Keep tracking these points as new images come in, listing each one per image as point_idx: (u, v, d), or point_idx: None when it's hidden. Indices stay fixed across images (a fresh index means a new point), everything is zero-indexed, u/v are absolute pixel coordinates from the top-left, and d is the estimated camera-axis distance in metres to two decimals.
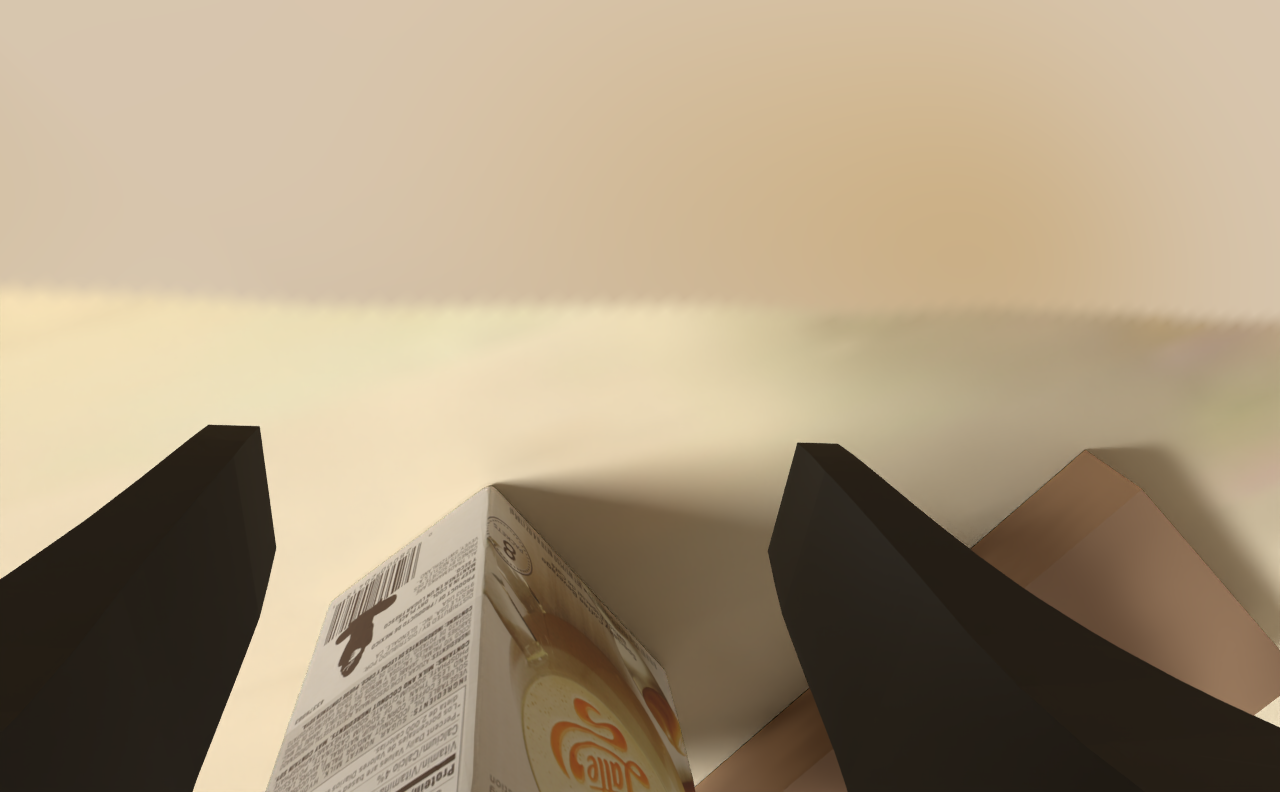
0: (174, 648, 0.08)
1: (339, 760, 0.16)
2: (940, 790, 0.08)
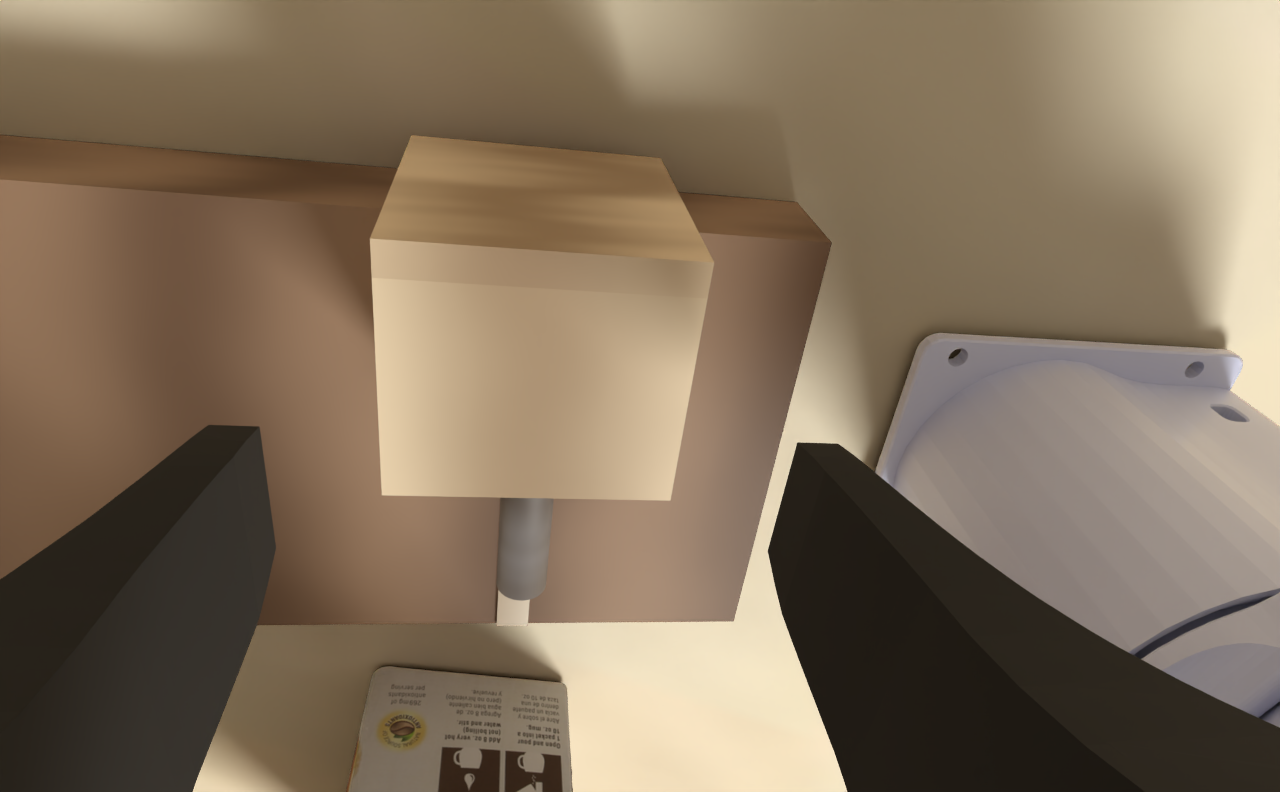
0: (174, 648, 0.08)
1: None
2: (940, 789, 0.08)
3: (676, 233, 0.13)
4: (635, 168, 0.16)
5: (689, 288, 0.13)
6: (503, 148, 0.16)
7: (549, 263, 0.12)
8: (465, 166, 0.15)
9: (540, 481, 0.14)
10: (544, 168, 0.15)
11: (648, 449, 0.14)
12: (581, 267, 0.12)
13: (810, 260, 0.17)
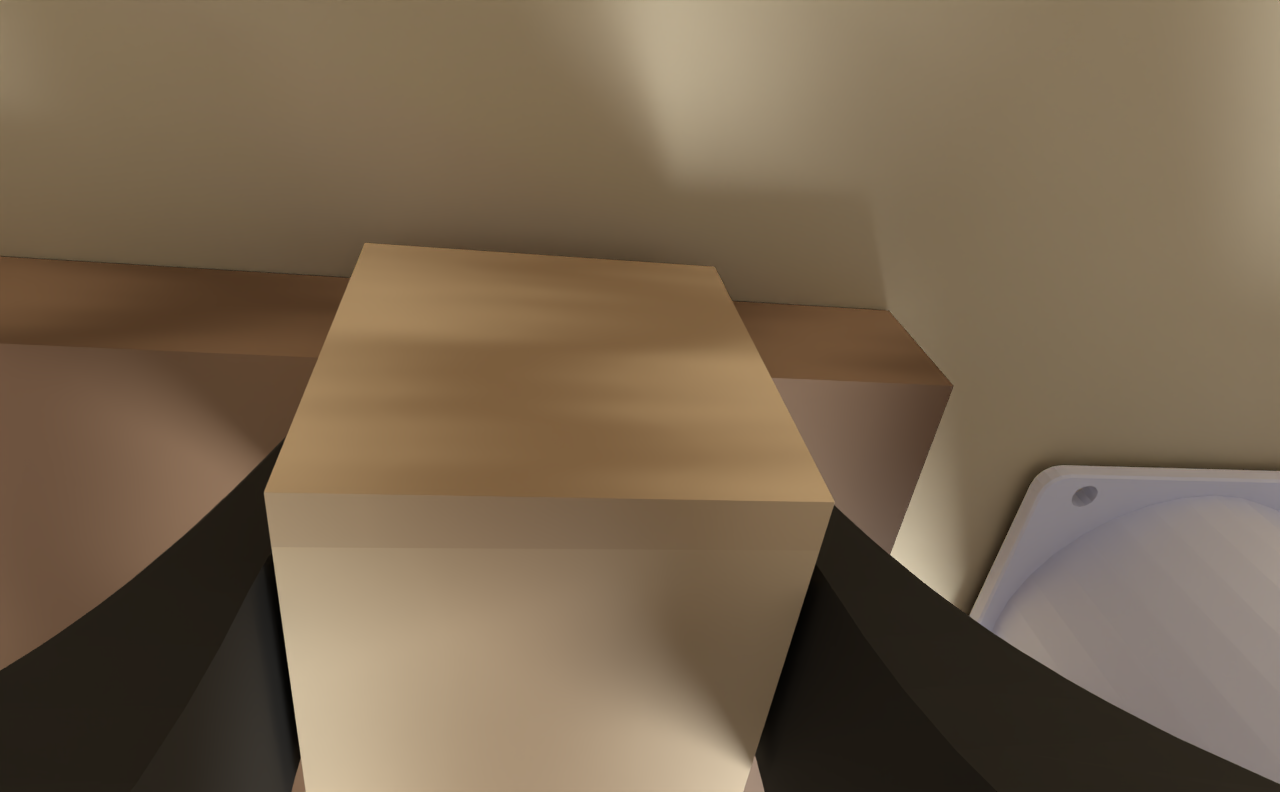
0: (283, 646, 0.08)
1: None
2: None
3: (763, 431, 0.09)
4: (683, 290, 0.11)
5: (792, 538, 0.08)
6: (495, 260, 0.11)
7: (568, 513, 0.07)
8: (438, 303, 0.10)
9: (550, 787, 0.09)
10: (553, 300, 0.11)
11: (713, 740, 0.09)
12: (620, 517, 0.07)
13: (922, 408, 0.12)
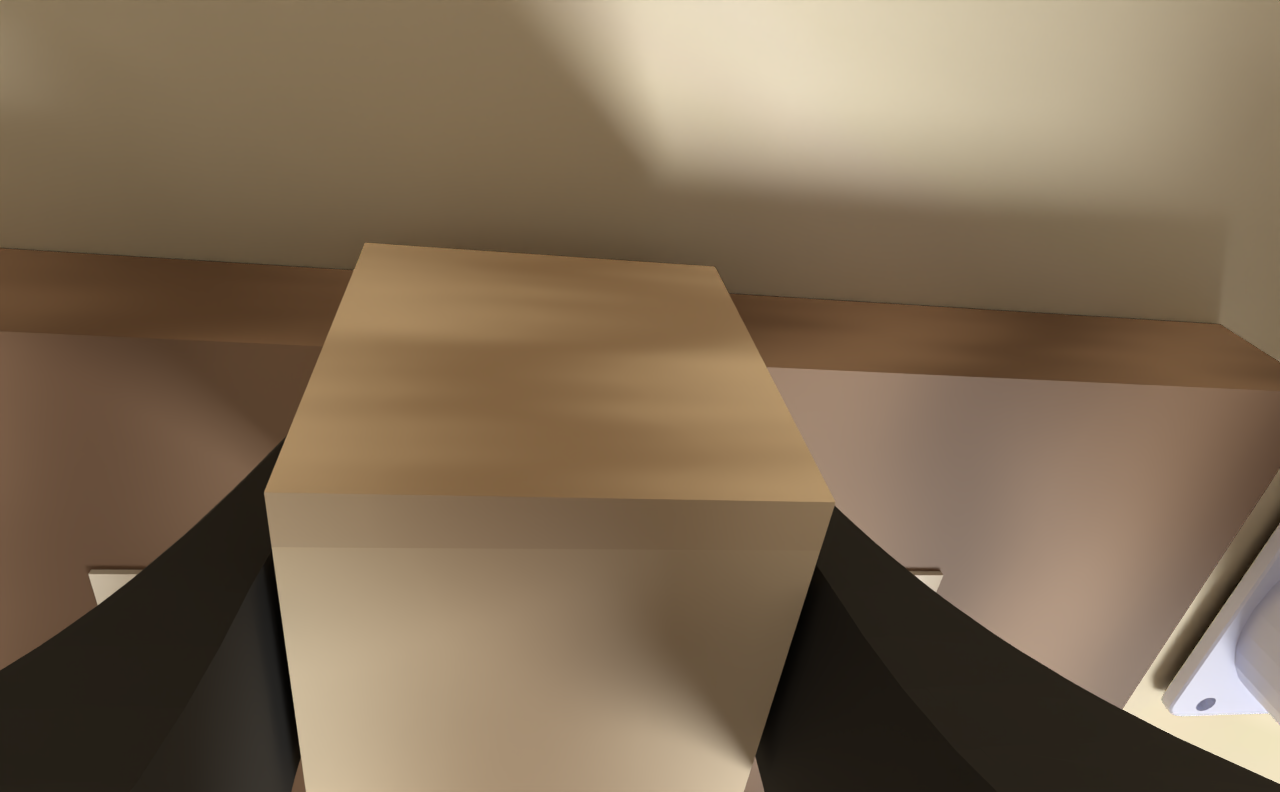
0: (283, 647, 0.08)
1: None
2: None
3: (763, 430, 0.09)
4: (683, 290, 0.11)
5: (793, 538, 0.08)
6: (496, 260, 0.11)
7: (568, 514, 0.07)
8: (439, 304, 0.10)
9: (550, 787, 0.09)
10: (554, 300, 0.11)
11: (714, 741, 0.09)
12: (621, 517, 0.07)
13: None
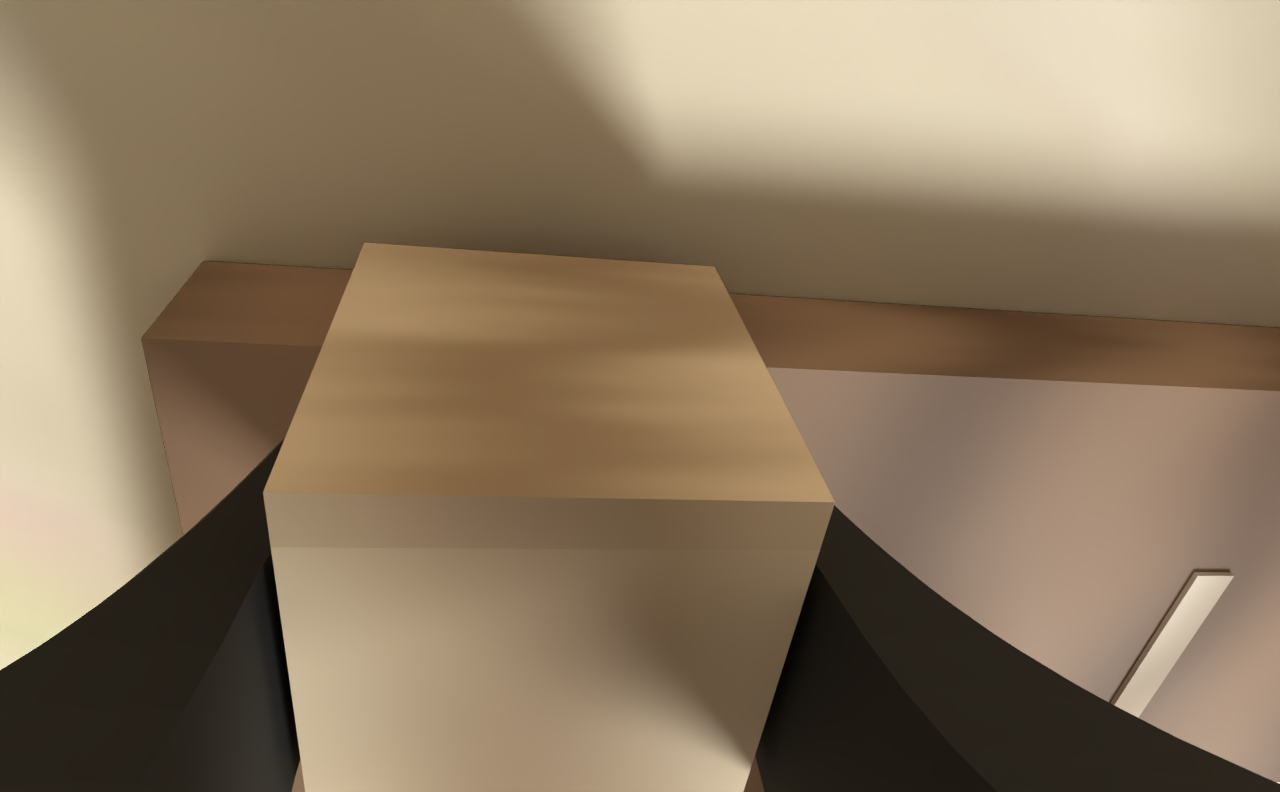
0: (283, 646, 0.08)
1: None
2: None
3: (763, 430, 0.09)
4: (683, 289, 0.11)
5: (792, 538, 0.08)
6: (495, 261, 0.11)
7: (568, 514, 0.07)
8: (438, 304, 0.10)
9: (550, 787, 0.09)
10: (553, 299, 0.11)
11: (713, 741, 0.09)
12: (620, 517, 0.07)
13: None
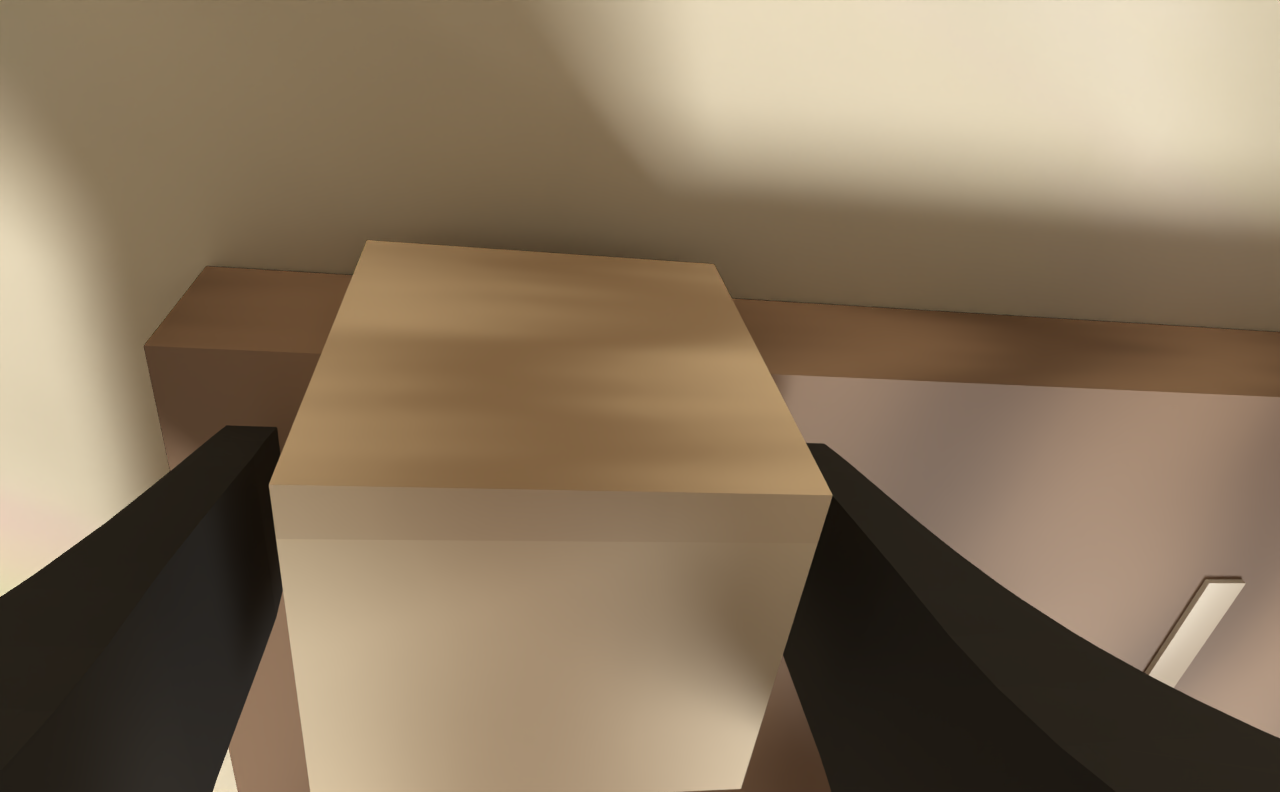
0: (196, 648, 0.08)
1: None
2: (920, 791, 0.08)
3: (761, 425, 0.09)
4: (683, 287, 0.12)
5: (790, 531, 0.08)
6: (497, 258, 0.12)
7: (569, 506, 0.07)
8: (440, 301, 0.10)
9: (551, 778, 0.10)
10: (554, 296, 0.11)
11: (712, 732, 0.09)
12: (620, 510, 0.08)
13: None
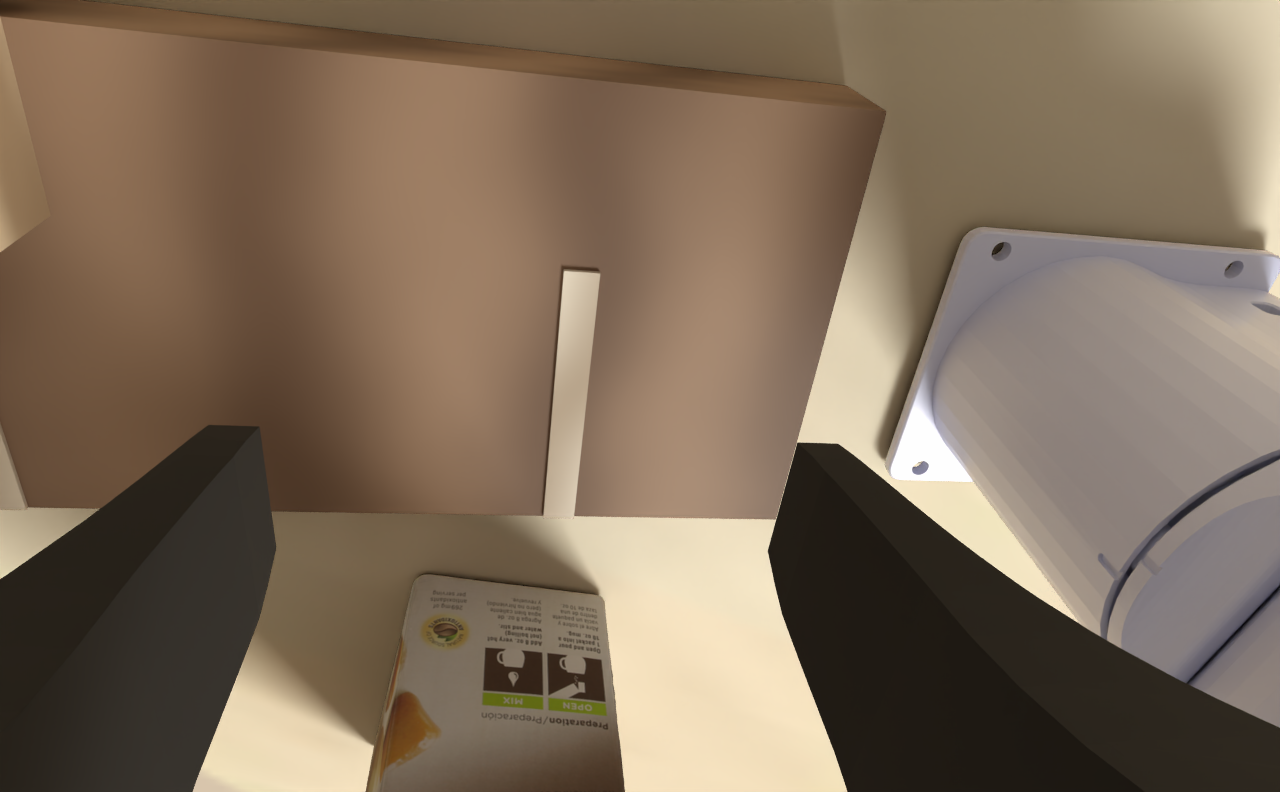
0: (174, 648, 0.08)
1: None
2: (940, 790, 0.08)
3: None
4: None
5: None
6: None
7: None
8: None
9: None
10: None
11: None
12: None
13: (865, 130, 0.17)
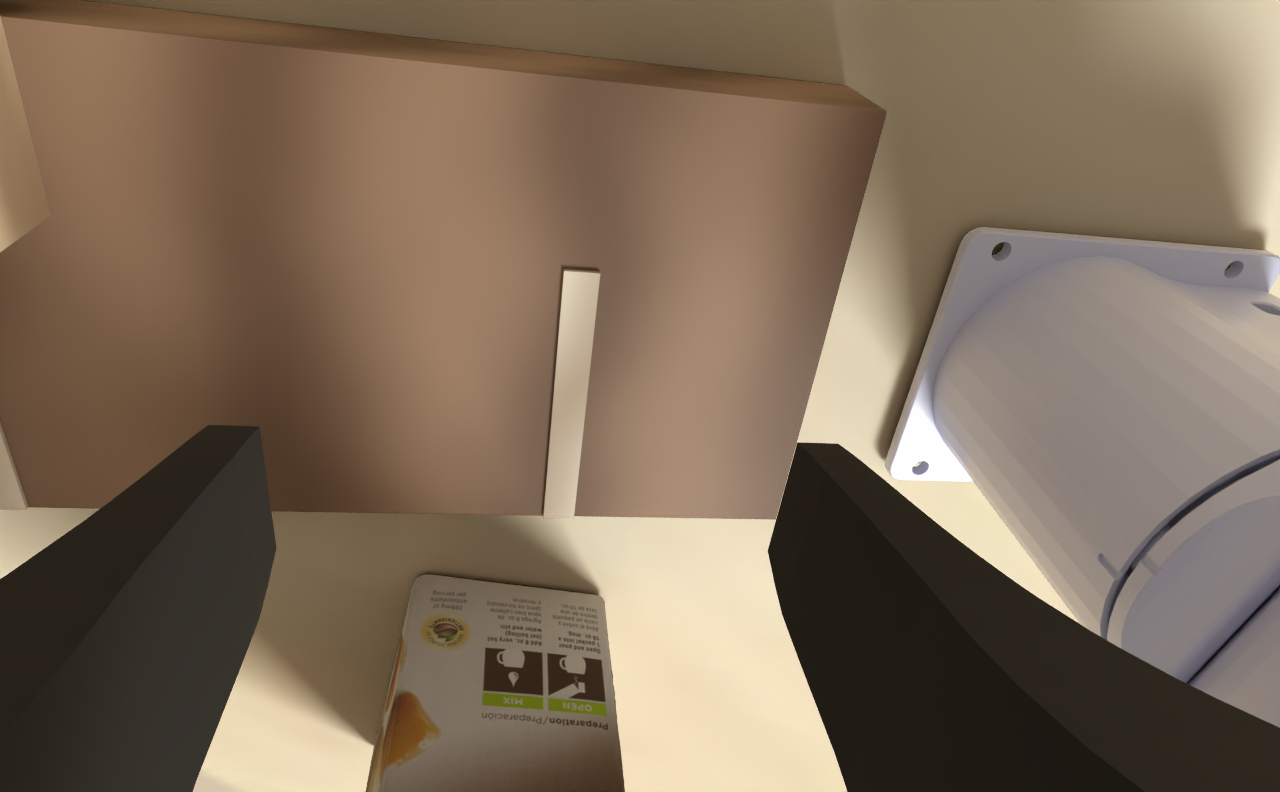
0: (174, 648, 0.08)
1: None
2: (940, 790, 0.08)
3: None
4: None
5: None
6: None
7: None
8: None
9: None
10: None
11: None
12: None
13: (865, 130, 0.17)
